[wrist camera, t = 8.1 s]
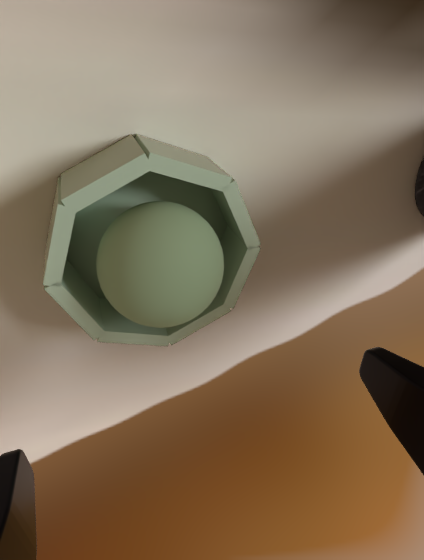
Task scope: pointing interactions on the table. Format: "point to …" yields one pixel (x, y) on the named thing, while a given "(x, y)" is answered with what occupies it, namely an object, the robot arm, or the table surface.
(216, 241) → the ball
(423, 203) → the travel mug
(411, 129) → the table surface
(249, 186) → the table surface
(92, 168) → the green cup
